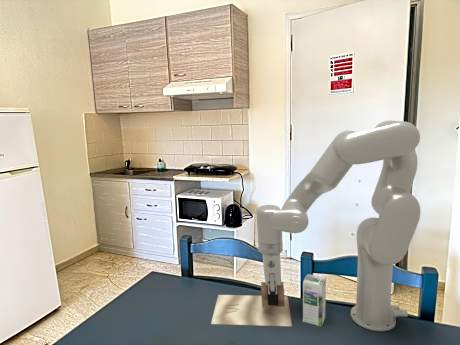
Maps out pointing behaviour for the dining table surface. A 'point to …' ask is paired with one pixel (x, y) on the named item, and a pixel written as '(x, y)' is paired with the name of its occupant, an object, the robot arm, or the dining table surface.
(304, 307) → the syrup box
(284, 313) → the board
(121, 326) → the dining table surface
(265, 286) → the block
